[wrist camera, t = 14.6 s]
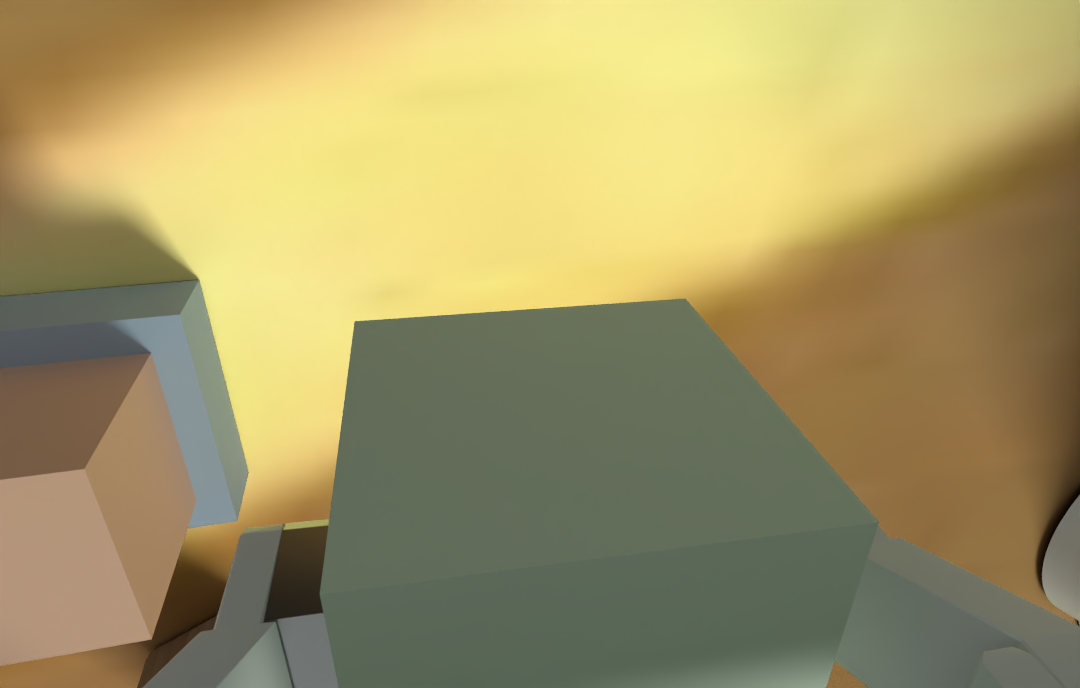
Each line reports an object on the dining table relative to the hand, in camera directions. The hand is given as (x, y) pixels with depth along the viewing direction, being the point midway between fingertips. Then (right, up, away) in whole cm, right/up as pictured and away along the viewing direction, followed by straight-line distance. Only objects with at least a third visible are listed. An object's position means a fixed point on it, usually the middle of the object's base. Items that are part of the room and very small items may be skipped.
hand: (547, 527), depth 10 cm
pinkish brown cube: (-13, 0, +9) cm, 16 cm away
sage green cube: (0, +1, +2) cm, 2 cm away
